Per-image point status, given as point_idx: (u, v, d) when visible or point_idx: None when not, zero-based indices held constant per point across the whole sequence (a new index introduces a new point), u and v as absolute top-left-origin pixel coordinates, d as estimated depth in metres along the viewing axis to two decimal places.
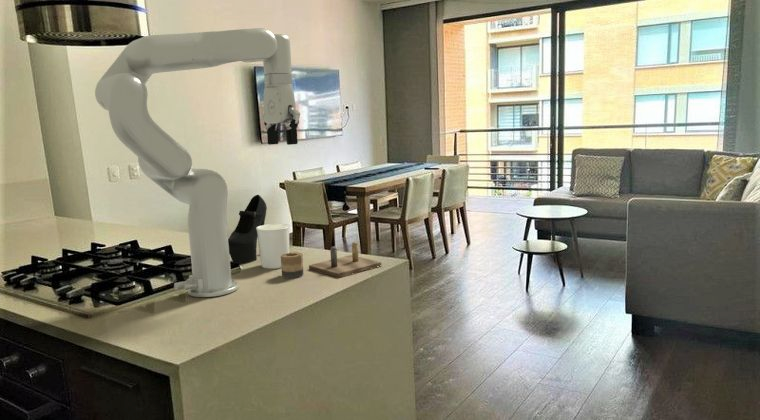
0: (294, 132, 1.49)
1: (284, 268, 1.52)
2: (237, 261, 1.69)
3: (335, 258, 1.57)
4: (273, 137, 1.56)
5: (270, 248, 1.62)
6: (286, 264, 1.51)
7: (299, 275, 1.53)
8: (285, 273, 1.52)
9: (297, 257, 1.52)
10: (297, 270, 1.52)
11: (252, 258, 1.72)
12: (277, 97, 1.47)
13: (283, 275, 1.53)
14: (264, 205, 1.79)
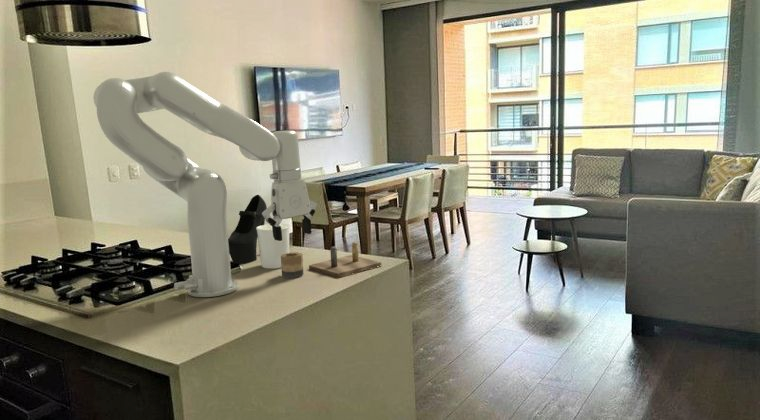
0: None
1: (284, 268, 1.52)
2: (237, 261, 1.69)
3: (335, 258, 1.57)
4: None
5: (270, 248, 1.62)
6: (286, 264, 1.51)
7: (299, 275, 1.53)
8: (285, 273, 1.52)
9: (297, 257, 1.52)
10: (297, 270, 1.52)
11: (252, 258, 1.72)
12: (303, 191, 1.51)
13: (283, 275, 1.53)
14: (264, 205, 1.79)
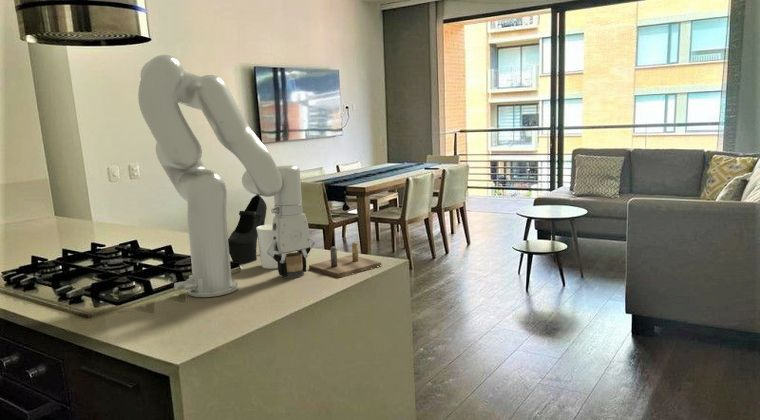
0: None
1: None
2: (237, 261, 1.69)
3: (335, 258, 1.57)
4: None
5: None
6: None
7: (299, 275, 1.53)
8: None
9: (297, 257, 1.52)
10: (297, 270, 1.52)
11: (252, 258, 1.72)
12: (304, 225, 1.53)
13: None
14: (264, 205, 1.79)
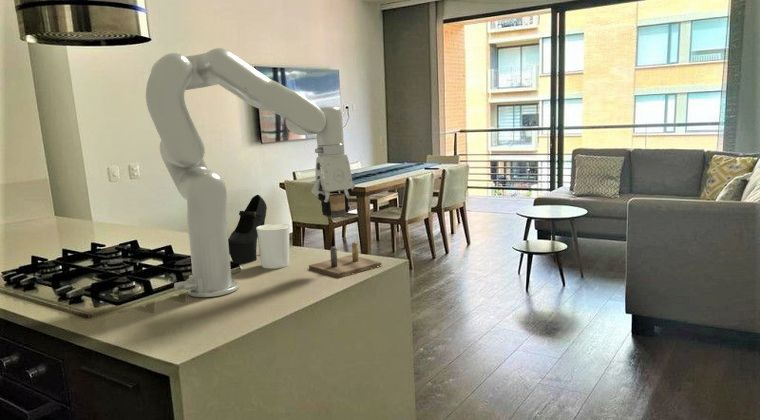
0: None
1: None
2: (237, 261, 1.69)
3: (335, 258, 1.57)
4: None
5: (270, 248, 1.62)
6: (330, 203, 1.55)
7: (342, 214, 1.57)
8: None
9: (340, 196, 1.56)
10: (340, 209, 1.56)
11: (252, 258, 1.72)
12: (346, 165, 1.57)
13: None
14: (264, 205, 1.79)
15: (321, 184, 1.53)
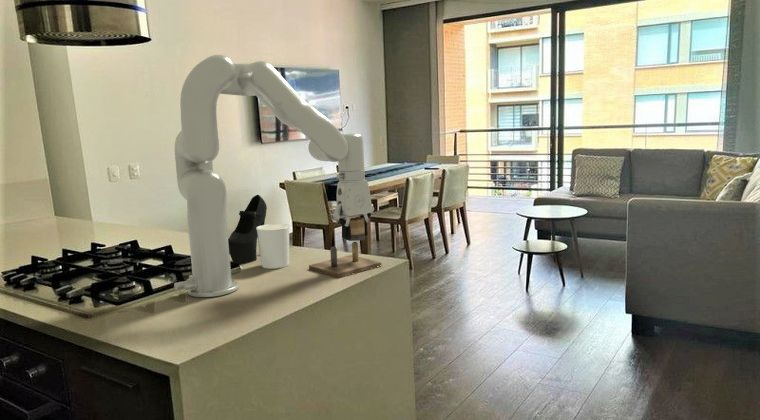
0: None
1: None
2: (237, 261, 1.69)
3: (335, 258, 1.57)
4: None
5: (270, 248, 1.62)
6: None
7: (362, 238, 1.61)
8: None
9: (360, 221, 1.60)
10: (360, 233, 1.60)
11: (252, 258, 1.72)
12: (366, 190, 1.60)
13: None
14: (264, 205, 1.79)
15: (342, 209, 1.57)
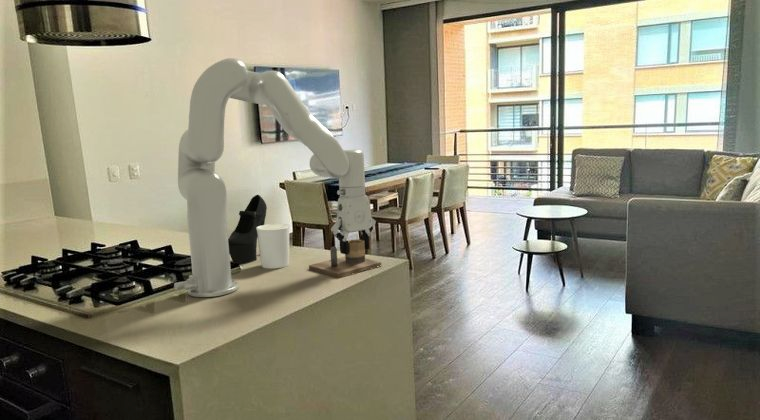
0: None
1: (348, 254, 1.61)
2: (237, 261, 1.69)
3: (335, 258, 1.57)
4: None
5: (270, 248, 1.62)
6: (350, 250, 1.60)
7: (362, 261, 1.62)
8: (349, 258, 1.61)
9: (360, 243, 1.61)
10: (360, 256, 1.61)
11: (252, 258, 1.72)
12: (367, 206, 1.61)
13: (347, 261, 1.62)
14: (264, 205, 1.79)
15: (342, 225, 1.57)
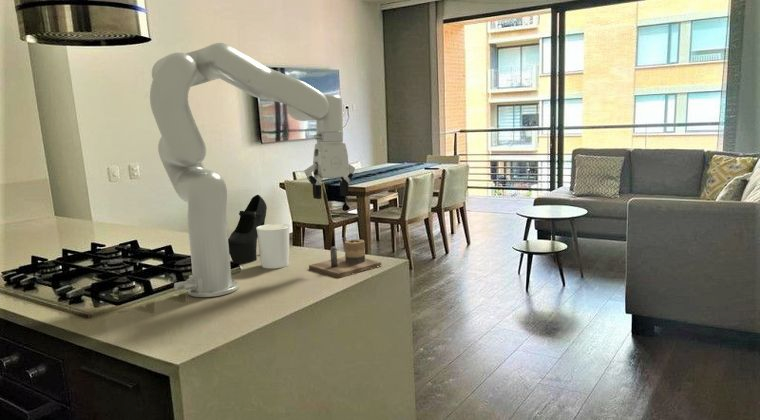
0: None
1: (348, 254, 1.61)
2: (237, 261, 1.69)
3: (335, 258, 1.57)
4: None
5: (270, 248, 1.62)
6: (350, 250, 1.60)
7: (362, 261, 1.62)
8: (349, 258, 1.61)
9: (360, 243, 1.61)
10: (360, 256, 1.61)
11: (252, 258, 1.72)
12: (344, 153, 1.59)
13: (347, 261, 1.62)
14: (264, 205, 1.79)
15: (318, 170, 1.56)
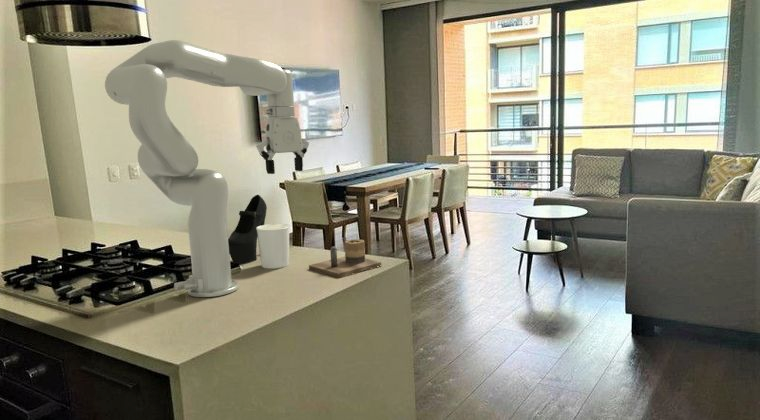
0: None
1: (348, 254, 1.61)
2: (237, 261, 1.69)
3: (335, 258, 1.57)
4: None
5: (270, 248, 1.62)
6: (350, 250, 1.60)
7: (362, 261, 1.62)
8: (349, 258, 1.61)
9: (360, 243, 1.61)
10: (360, 256, 1.61)
11: (252, 258, 1.72)
12: (296, 128, 1.60)
13: (347, 261, 1.62)
14: (264, 205, 1.79)
15: (270, 145, 1.56)
